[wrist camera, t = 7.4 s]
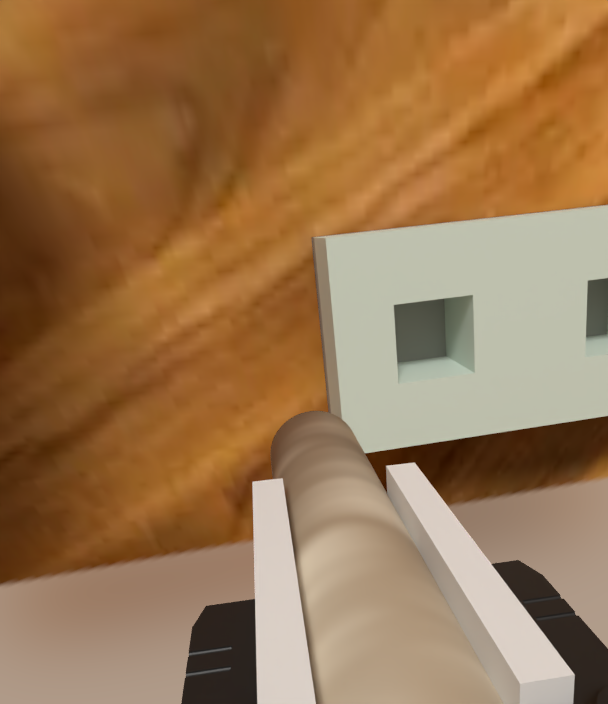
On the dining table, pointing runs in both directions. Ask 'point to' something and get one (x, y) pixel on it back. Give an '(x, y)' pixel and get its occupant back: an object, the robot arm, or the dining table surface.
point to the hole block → (465, 326)
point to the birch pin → (366, 580)
